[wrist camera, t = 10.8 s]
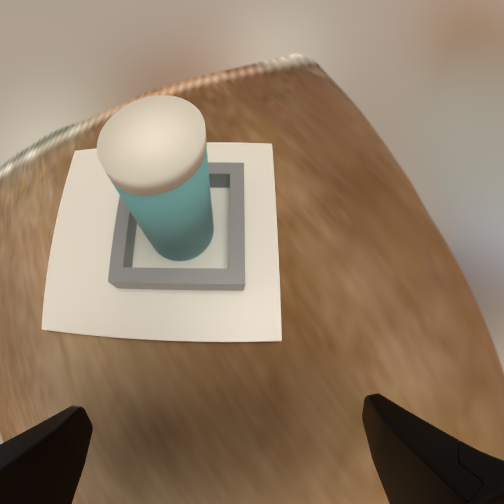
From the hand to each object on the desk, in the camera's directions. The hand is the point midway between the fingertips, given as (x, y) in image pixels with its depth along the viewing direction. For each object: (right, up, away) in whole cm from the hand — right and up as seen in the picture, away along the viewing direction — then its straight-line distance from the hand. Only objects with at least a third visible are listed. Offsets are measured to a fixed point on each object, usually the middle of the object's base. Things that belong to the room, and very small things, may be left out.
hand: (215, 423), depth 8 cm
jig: (-6, +6, +15) cm, 18 cm away
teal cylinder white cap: (-4, +7, +14) cm, 16 cm away
